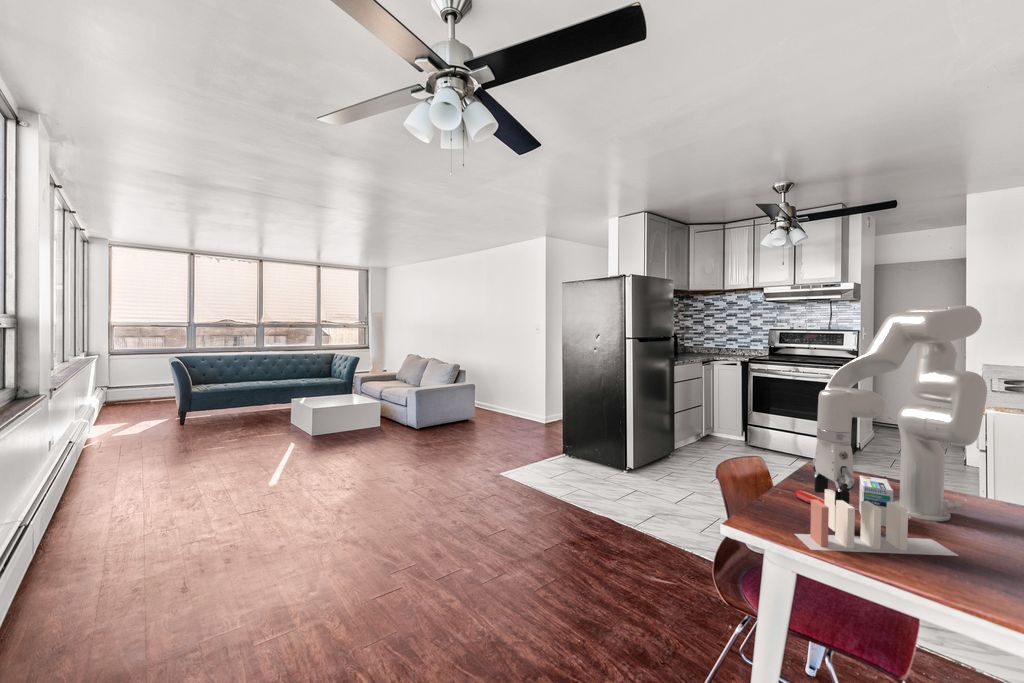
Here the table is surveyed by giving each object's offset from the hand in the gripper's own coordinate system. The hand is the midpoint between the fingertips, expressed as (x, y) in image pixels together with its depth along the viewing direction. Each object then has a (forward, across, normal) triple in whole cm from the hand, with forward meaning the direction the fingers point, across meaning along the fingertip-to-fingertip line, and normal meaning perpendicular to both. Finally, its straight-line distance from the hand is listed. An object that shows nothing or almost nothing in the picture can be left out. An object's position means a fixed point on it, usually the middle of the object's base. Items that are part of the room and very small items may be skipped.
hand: (830, 499), depth 124 cm
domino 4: (+8, -9, -5) cm, 13 cm away
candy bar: (+8, +16, -6) cm, 19 cm away
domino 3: (+8, -9, +1) cm, 12 cm away
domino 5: (+8, -9, -11) cm, 16 cm away
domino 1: (+8, -9, +7) cm, 14 cm away
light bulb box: (+8, +7, -16) cm, 19 cm away
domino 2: (+8, 0, -1) cm, 8 cm away
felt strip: (+8, -9, -5) cm, 13 cm away
